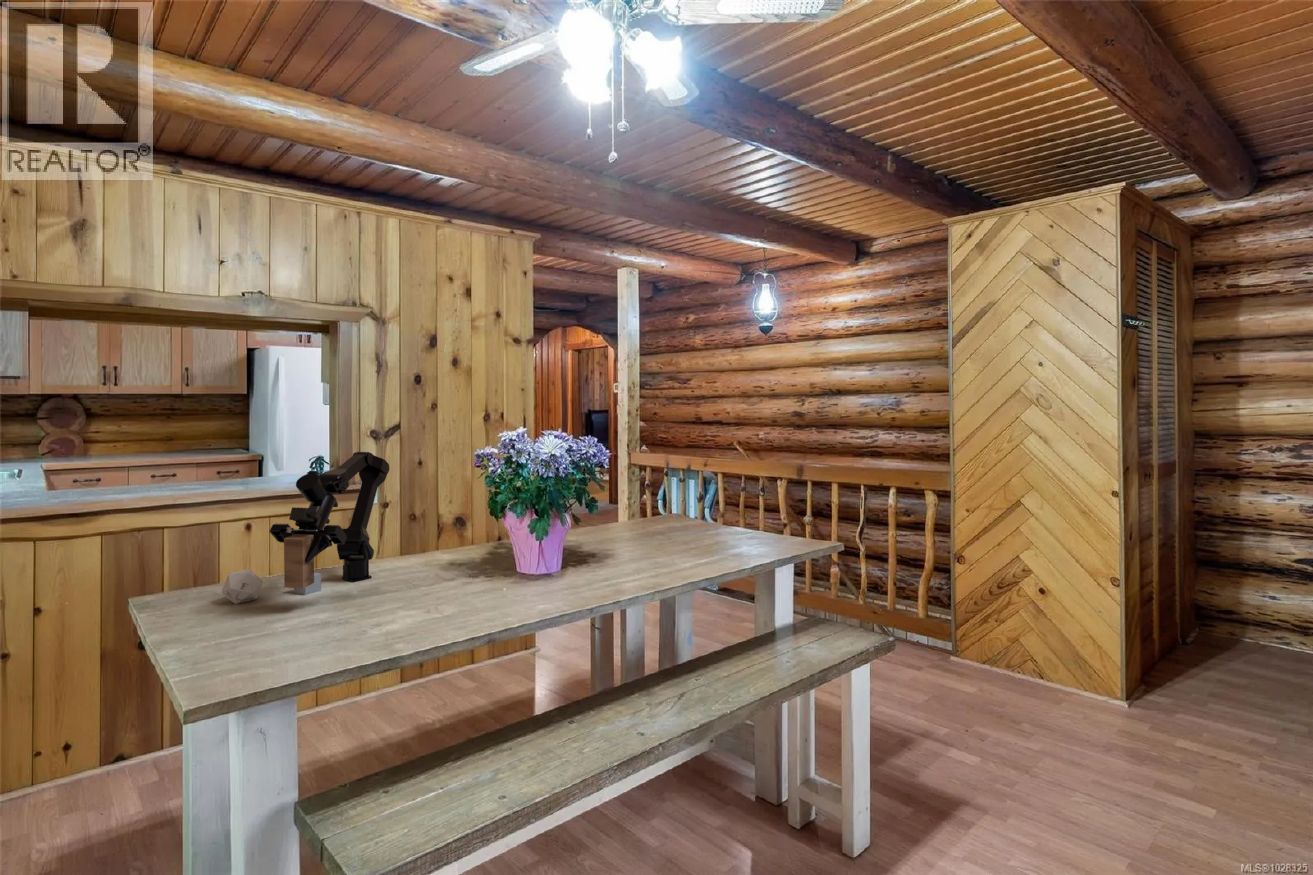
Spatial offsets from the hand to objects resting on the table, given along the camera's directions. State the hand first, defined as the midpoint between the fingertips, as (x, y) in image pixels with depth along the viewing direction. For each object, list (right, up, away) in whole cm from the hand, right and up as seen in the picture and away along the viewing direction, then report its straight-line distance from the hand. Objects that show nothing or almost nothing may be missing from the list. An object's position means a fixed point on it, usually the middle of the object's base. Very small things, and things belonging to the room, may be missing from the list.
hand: (296, 561), depth 174 cm
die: (-19, -12, +8) cm, 24 cm away
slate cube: (-6, -12, +17) cm, 22 cm away
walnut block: (0, -7, +2) cm, 7 cm away
